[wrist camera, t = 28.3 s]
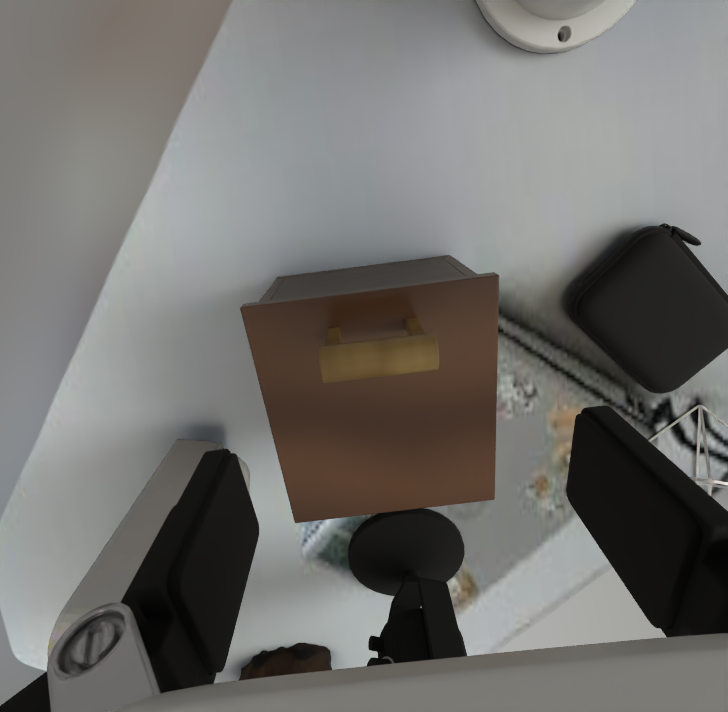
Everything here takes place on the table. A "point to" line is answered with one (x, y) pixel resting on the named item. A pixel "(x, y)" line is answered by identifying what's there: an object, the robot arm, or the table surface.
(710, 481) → the geometric polyhedron
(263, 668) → the owl
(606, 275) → the carrying case
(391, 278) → the chest
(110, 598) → the network device
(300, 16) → the table surface
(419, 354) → the lid
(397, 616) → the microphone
